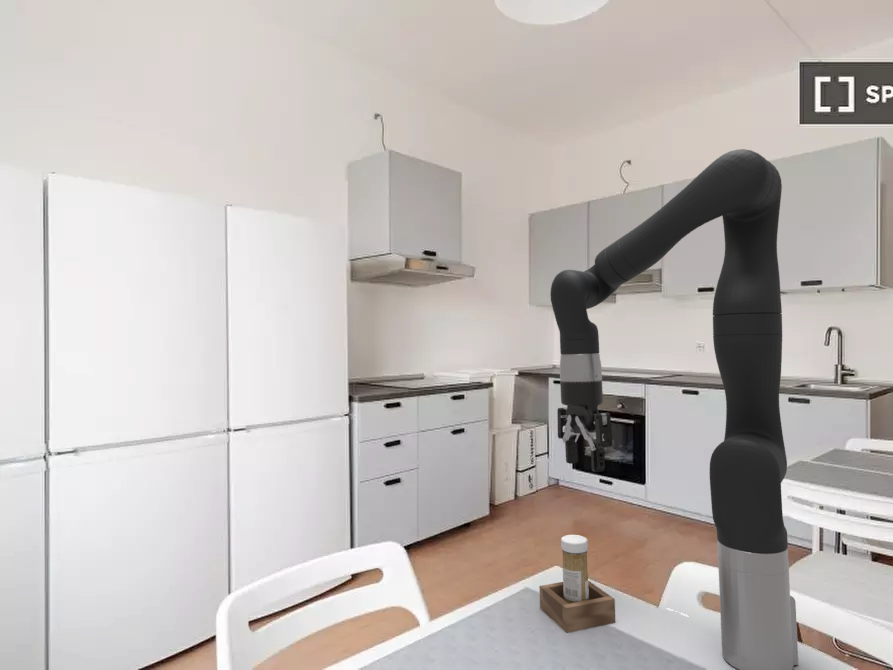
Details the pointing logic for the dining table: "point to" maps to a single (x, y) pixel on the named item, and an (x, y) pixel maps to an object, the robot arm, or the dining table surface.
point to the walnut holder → (577, 608)
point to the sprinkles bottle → (575, 568)
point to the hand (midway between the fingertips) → (584, 467)
